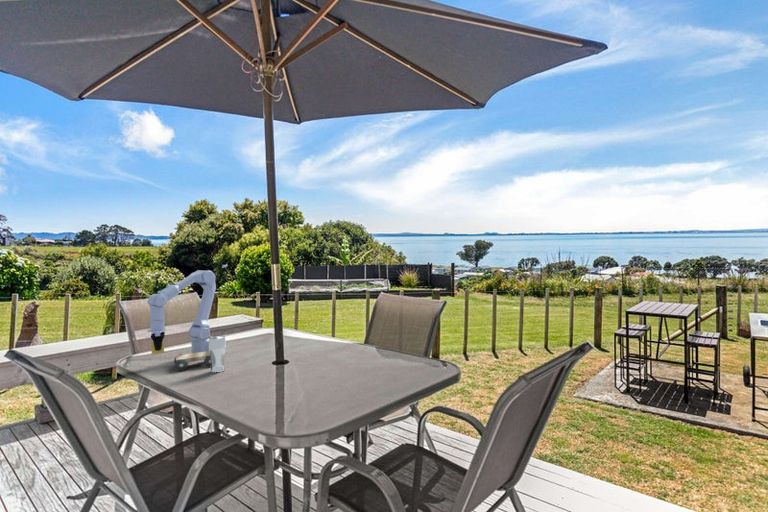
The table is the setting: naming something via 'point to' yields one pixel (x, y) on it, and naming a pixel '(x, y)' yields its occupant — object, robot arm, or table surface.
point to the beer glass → (217, 353)
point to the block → (157, 350)
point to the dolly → (191, 359)
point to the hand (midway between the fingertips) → (158, 349)
